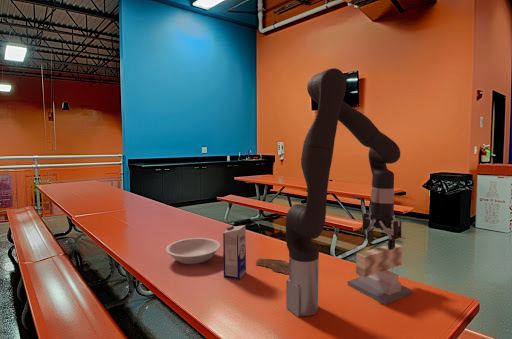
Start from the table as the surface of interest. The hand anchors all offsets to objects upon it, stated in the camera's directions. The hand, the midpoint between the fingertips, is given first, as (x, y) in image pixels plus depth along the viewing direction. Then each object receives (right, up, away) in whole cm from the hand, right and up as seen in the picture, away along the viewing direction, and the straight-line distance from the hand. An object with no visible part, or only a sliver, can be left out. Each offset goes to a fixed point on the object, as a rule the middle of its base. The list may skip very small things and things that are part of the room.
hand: (380, 245), depth 109 cm
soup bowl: (-71, -14, +30) cm, 79 cm away
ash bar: (0, -9, +1) cm, 9 cm away
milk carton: (-52, -16, +14) cm, 56 cm away
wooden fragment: (-33, -15, +22) cm, 42 cm away
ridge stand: (0, -16, +2) cm, 16 cm away
